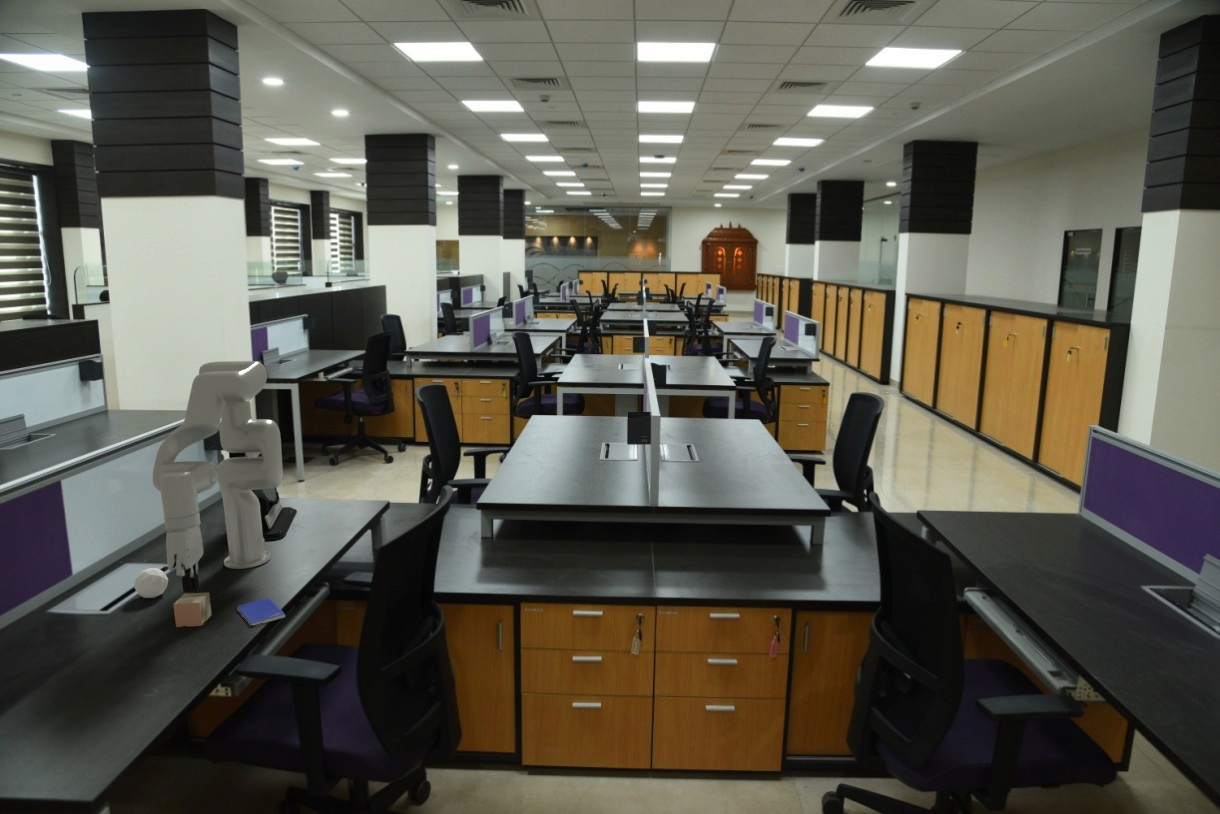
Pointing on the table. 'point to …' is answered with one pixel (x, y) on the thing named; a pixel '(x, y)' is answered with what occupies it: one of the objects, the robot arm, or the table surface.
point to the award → (269, 509)
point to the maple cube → (192, 609)
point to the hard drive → (260, 611)
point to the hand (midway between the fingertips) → (191, 590)
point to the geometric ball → (151, 583)
